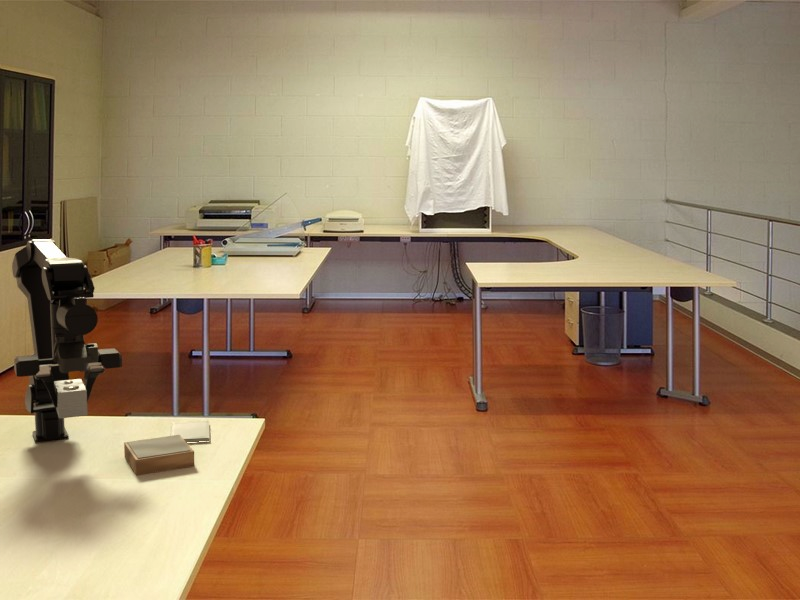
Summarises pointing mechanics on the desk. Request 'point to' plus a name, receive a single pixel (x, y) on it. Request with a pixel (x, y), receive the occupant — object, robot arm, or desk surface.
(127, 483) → the desk surface
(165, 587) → the desk surface
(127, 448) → the stand
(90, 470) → the desk surface
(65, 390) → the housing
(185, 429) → the hard drive
